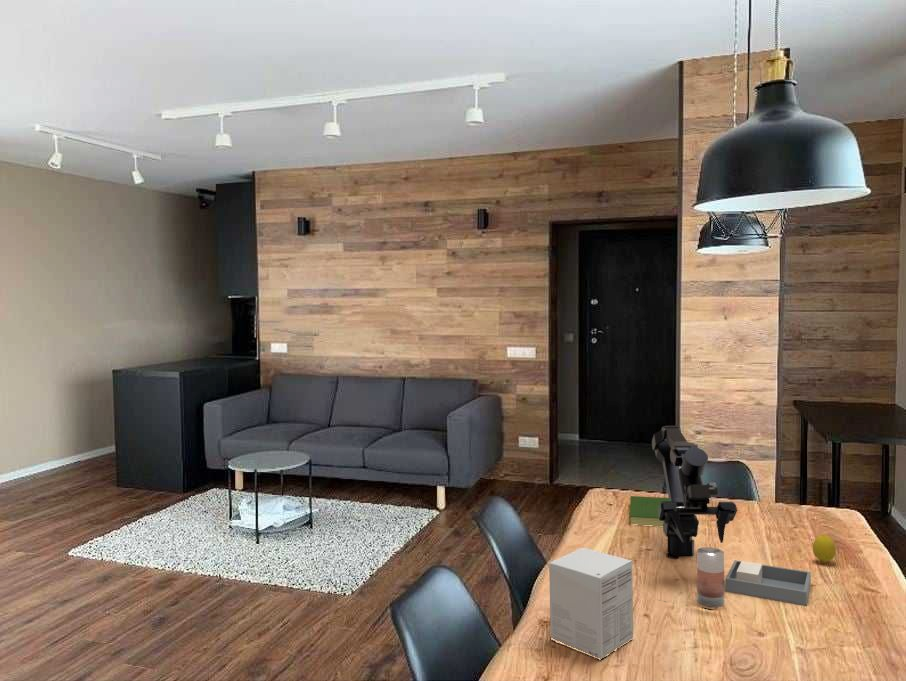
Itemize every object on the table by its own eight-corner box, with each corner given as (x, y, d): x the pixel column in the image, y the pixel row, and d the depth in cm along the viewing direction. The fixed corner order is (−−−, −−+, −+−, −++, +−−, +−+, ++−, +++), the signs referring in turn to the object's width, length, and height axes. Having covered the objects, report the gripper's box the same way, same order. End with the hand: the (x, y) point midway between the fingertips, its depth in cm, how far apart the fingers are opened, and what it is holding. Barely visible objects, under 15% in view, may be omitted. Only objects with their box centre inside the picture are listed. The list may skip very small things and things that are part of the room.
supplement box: (635, 639, 151) (634, 560, 150) (601, 662, 142) (599, 577, 141) (584, 620, 160) (582, 546, 160) (548, 641, 151) (547, 561, 150)
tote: (725, 594, 173) (725, 578, 173) (734, 575, 185) (734, 560, 185) (806, 608, 164) (806, 592, 164) (810, 587, 176) (810, 572, 176)
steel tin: (694, 607, 166) (694, 553, 165) (700, 597, 171) (699, 545, 171) (721, 612, 163) (721, 558, 162) (726, 602, 168) (726, 549, 168)
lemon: (838, 567, 189) (838, 538, 188) (816, 566, 190) (816, 537, 189) (831, 559, 194) (831, 531, 194) (810, 558, 195) (810, 530, 195)
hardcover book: (690, 530, 223) (690, 519, 223) (629, 527, 228) (629, 516, 228) (685, 508, 247) (685, 497, 247) (630, 505, 252) (630, 495, 252)
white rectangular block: (736, 586, 175) (736, 571, 175) (741, 575, 182) (741, 560, 182) (758, 590, 173) (758, 574, 173) (762, 579, 180) (762, 564, 179)
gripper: (659, 470, 179) (668, 526, 169) (734, 470, 177) (748, 527, 167) (654, 492, 187) (662, 547, 177) (726, 492, 185) (739, 548, 175)
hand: (702, 542), depth 174 cm, fingers open, 9 cm apart
